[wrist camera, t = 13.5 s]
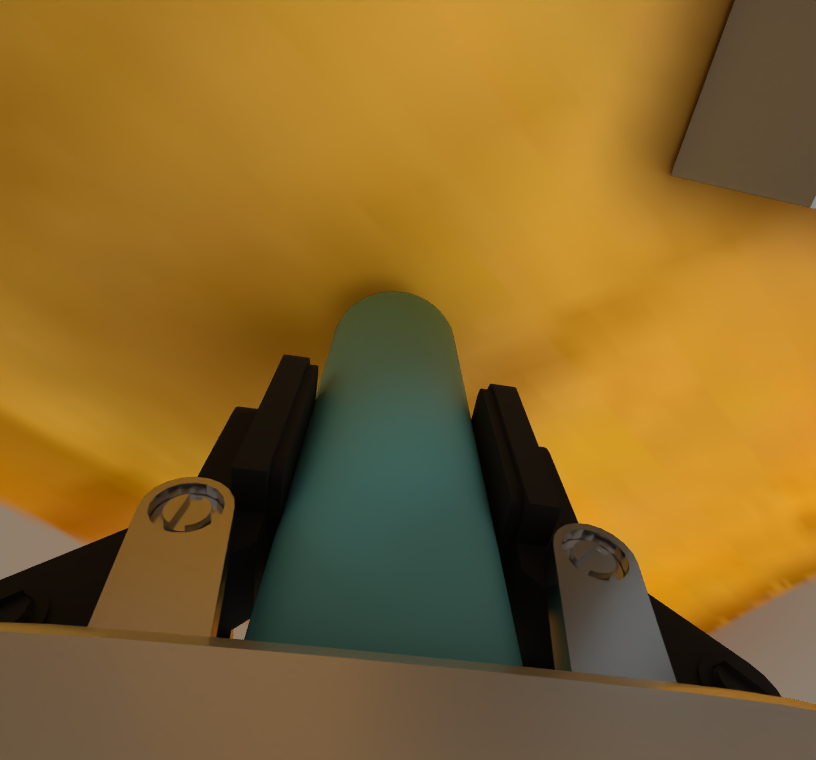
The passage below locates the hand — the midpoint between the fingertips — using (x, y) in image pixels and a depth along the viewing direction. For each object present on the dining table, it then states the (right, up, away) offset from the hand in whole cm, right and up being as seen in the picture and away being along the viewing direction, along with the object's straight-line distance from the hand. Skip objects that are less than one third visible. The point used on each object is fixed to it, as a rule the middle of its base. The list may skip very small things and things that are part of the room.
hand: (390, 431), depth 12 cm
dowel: (0, +2, +4) cm, 4 cm away
